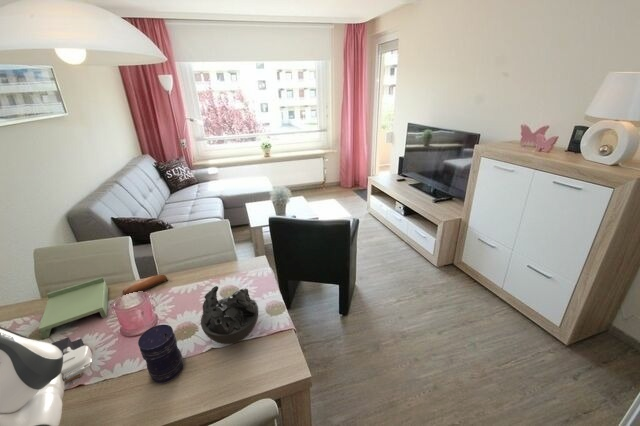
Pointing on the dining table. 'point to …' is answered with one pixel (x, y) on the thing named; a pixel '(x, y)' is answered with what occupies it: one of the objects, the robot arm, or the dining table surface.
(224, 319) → the bowl of black rocks
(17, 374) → the robot arm
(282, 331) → the dining table surface
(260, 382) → the dining table surface
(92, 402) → the dining table surface
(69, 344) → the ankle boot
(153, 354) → the storage jar
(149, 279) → the brown rounded bar
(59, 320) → the sage green riser
